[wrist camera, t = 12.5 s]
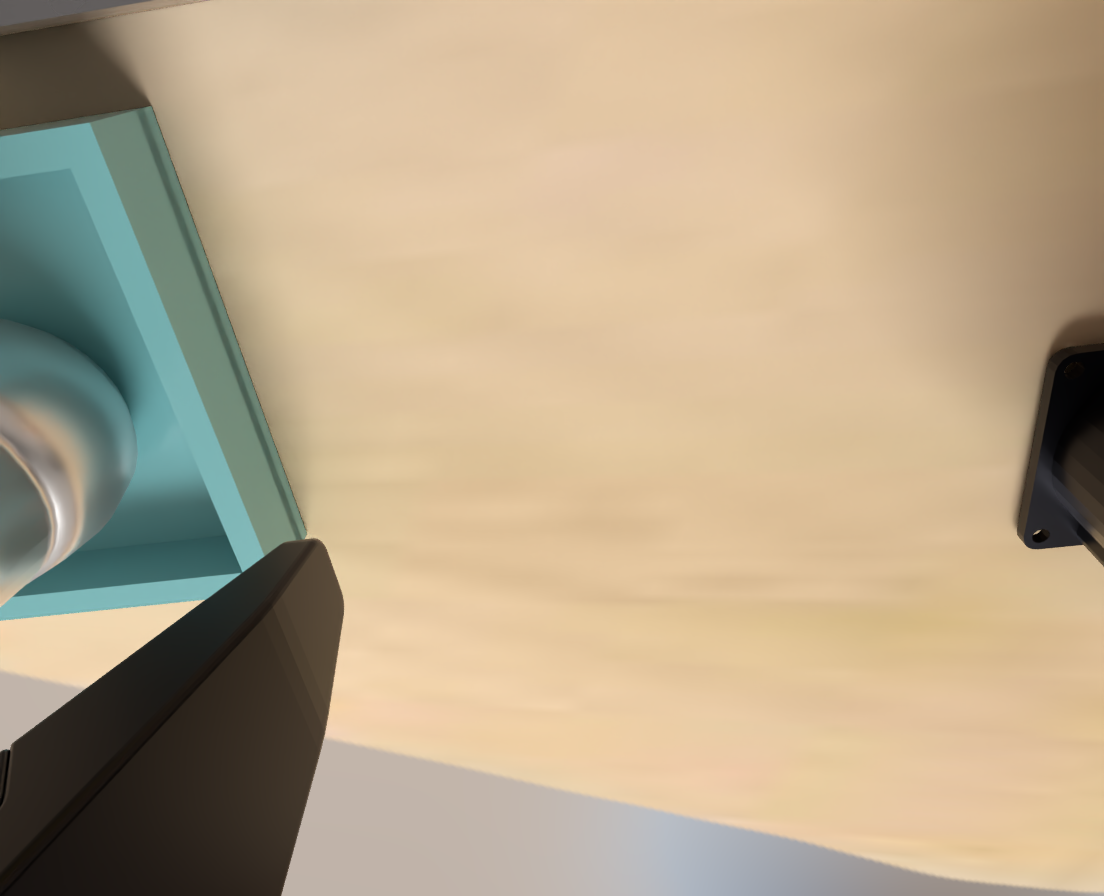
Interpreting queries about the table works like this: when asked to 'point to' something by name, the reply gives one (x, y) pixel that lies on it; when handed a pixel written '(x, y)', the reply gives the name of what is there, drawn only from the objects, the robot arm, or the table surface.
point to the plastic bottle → (55, 452)
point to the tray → (140, 363)
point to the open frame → (70, 11)
